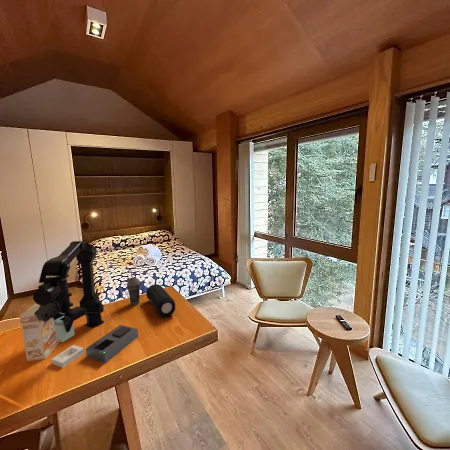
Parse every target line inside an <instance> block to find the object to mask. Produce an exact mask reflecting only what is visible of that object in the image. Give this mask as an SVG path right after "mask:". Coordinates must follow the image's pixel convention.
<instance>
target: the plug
mask: <svg viewBox="0 0 450 450" xmlns="http://www.w3.org/2000/svg"><path fill="white" fill-rule="evenodd" d="M63 317H64V316H62V317H60V318H59V319H61V318H63ZM59 319H57V320H55V321H54V324H55V330H56V337H57V340H58V341H60V342H62V343H63V342H65V341H67V340H69V339H70V338H71V337H73V336H75V329H74V323H73V324H72V327H71V329H70V331H69V332H66V330H65V326H64V322H63V321H61V320H59Z"/></svg>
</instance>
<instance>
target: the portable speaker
mask: <svg viewBox="0 0 450 450" xmlns="http://www.w3.org/2000/svg"><path fill="white" fill-rule="evenodd" d="M146 297H147V299H148V301H149V302H150V304H151V305H152V306H153V308H154V309H155V311H156V312H157V314H158V316H161V317H165V318H166V317H167V318H168V317H169V316H171V315H173V314H174V313H175V311H176V302H175V299H174V298H173V297H171V295H170V294H169V293H168V292H167V291H166V289H164V287H163V286H162V285H160V284H157V283H156V284H151V285H150V286H149V287H148V288H147V290H146Z"/></svg>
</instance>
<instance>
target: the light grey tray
mask: <svg viewBox="0 0 450 450" xmlns="http://www.w3.org/2000/svg"><path fill="white" fill-rule="evenodd" d="M84 354H86V351H85V347H82V346H78V345H75V344H72V345H71V346H69V347H68V348H67V349H65V350H62V352H60V353H59V354H57V355H55V356H54V357H53V358H51V364H52V365H55V366H57V367H59V368H63V369H64V368H65V367H66V366H68V365H70V364H71V363H72V362H73V361H75V360H76V359H78V358H79V357H81V356H82V355H84Z"/></svg>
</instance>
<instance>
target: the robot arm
mask: <svg viewBox="0 0 450 450" xmlns="http://www.w3.org/2000/svg"><path fill="white" fill-rule="evenodd" d="M97 253H98V250H97V247H96V246H95V245H93V244H91V243H88V242H85V241H83V240H73V241H72V242H70V243H69V245H68V246H67V247H66V248H65V249H64V250H63V251H62V252H61V253H60V254H58V255H57V256H55V257H52V258H50V259H48V260H46V261H45V262H44V264H43V265H42V267H41V268H42V269H41V272H40V275H39V280H38V284H40V285H38V286H37V290H36V291H35V292H34V293H33V296H32V299H33V301H34V304H35V303H36V304H38V305H40V307H39V309H38V310H37V311H36V312H35V313H34V314H35V316H36V317H37V318H38V320H41V321H44V322H46V321H48V320H49V319H50V318H53V319H54V321H55V320H57V319H59V318H60V317H62V316H64V317H63V318H61V319H59V320H61V321H63V322H64V326H65V330H66V332H69V331H70V329H71V327H72V324H73V325H74V322H75V321H76V320H78V319H80V318H81V317H83V316H85V317H86V323H84V327H88V328H92V329H95V328H96V327H99V326H100V325H102V324H103V323H105V320H103V319H102V315H101V314H102V313H103V312H104V308H105V304H103V303H102V302H101V301H100V296H98V294H97V293H96V291H95V289H96V288H95V278H94V277H95V276H94V261H95V260H96V257H97ZM75 259H76V261H77V262H78V264H80V267H81V277H82V278H81V279H82V281H81V282H82V291H83V293H82V294H83V296H82V297H81V299H80V300H79V301H78V303H79V306H75V307H73V306H74V303H73V302H71V299H70V297H72V296H73V294H72V292H69V291H70V290H69V284H68V283H69V282H68V278H69V276H70V275H69V271H70V270H71V263H72V262H73V261H74V260H75Z"/></svg>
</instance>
